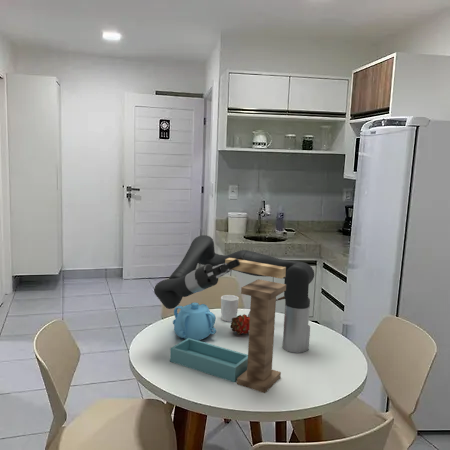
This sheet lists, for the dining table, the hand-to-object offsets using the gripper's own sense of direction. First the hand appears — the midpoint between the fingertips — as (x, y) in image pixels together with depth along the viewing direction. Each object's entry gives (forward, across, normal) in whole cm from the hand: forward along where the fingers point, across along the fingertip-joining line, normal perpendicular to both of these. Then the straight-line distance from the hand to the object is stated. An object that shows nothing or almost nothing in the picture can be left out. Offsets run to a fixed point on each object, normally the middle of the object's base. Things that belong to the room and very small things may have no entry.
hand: (240, 260), depth 145 cm
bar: (+3, 0, -5) cm, 6 cm away
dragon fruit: (-33, -33, -26) cm, 53 cm away
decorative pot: (-45, -18, -19) cm, 52 cm away
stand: (-12, 0, -38) cm, 40 cm away
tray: (-28, 0, -28) cm, 40 cm away
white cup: (-43, -43, -20) cm, 64 cm away
